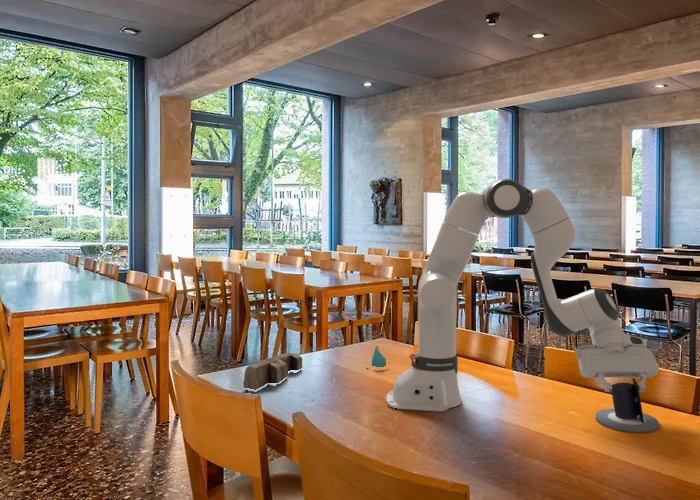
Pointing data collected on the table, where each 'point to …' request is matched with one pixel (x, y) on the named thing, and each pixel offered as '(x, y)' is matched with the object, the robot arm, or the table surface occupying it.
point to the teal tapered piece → (378, 359)
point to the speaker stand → (627, 422)
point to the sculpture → (271, 370)
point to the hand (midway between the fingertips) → (625, 390)
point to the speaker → (627, 400)
